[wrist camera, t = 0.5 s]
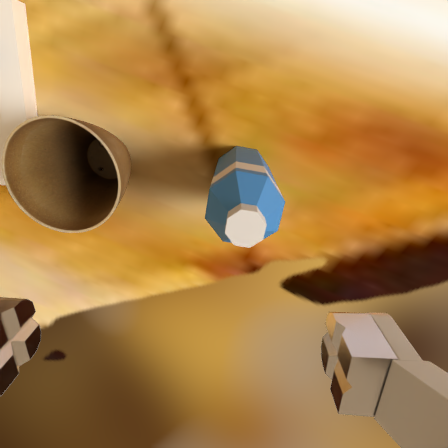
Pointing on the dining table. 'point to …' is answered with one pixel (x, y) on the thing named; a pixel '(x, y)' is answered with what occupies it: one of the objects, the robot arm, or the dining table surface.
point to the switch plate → (14, 71)
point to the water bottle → (243, 198)
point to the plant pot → (65, 172)
